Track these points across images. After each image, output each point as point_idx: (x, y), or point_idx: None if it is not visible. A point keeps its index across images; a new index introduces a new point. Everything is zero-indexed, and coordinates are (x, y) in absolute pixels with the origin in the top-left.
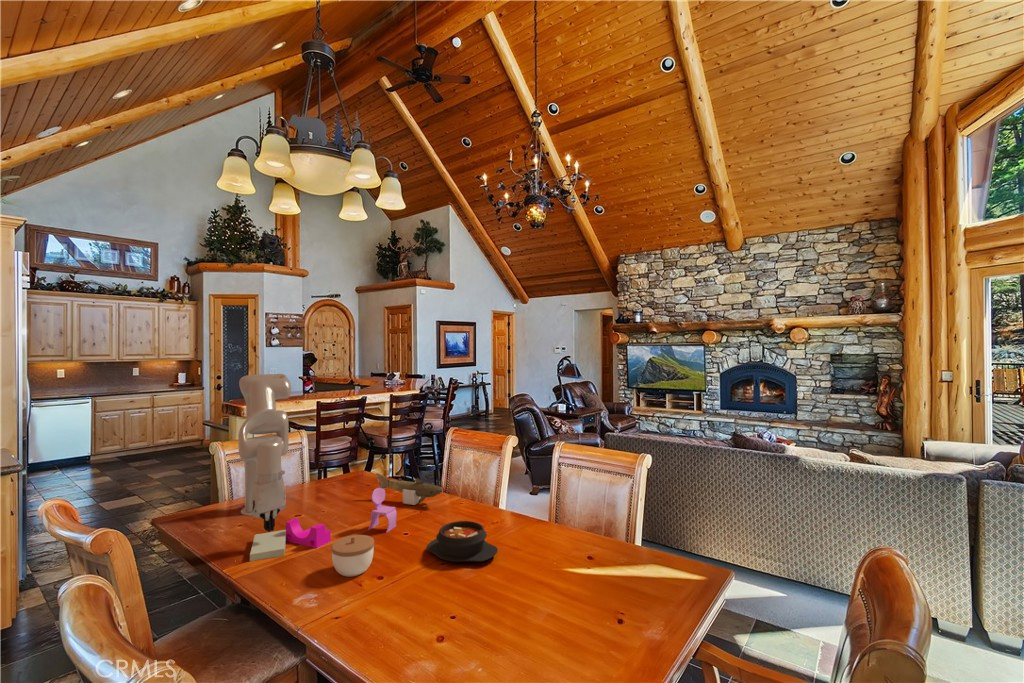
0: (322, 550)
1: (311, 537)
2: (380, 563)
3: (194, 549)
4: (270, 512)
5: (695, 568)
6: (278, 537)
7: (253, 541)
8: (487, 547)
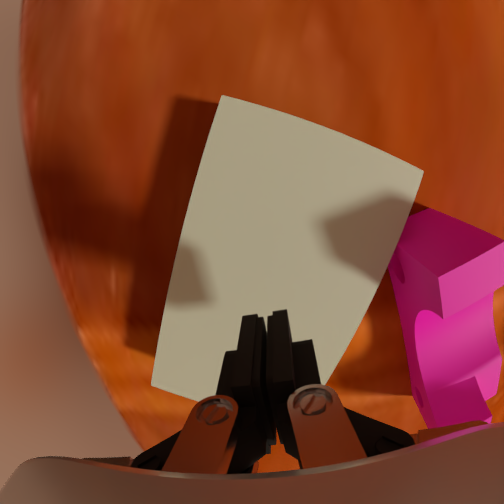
0: (417, 409)
1: (426, 410)
2: None
3: (20, 37)
4: (302, 450)
5: None
6: (338, 278)
7: (184, 226)
8: None
